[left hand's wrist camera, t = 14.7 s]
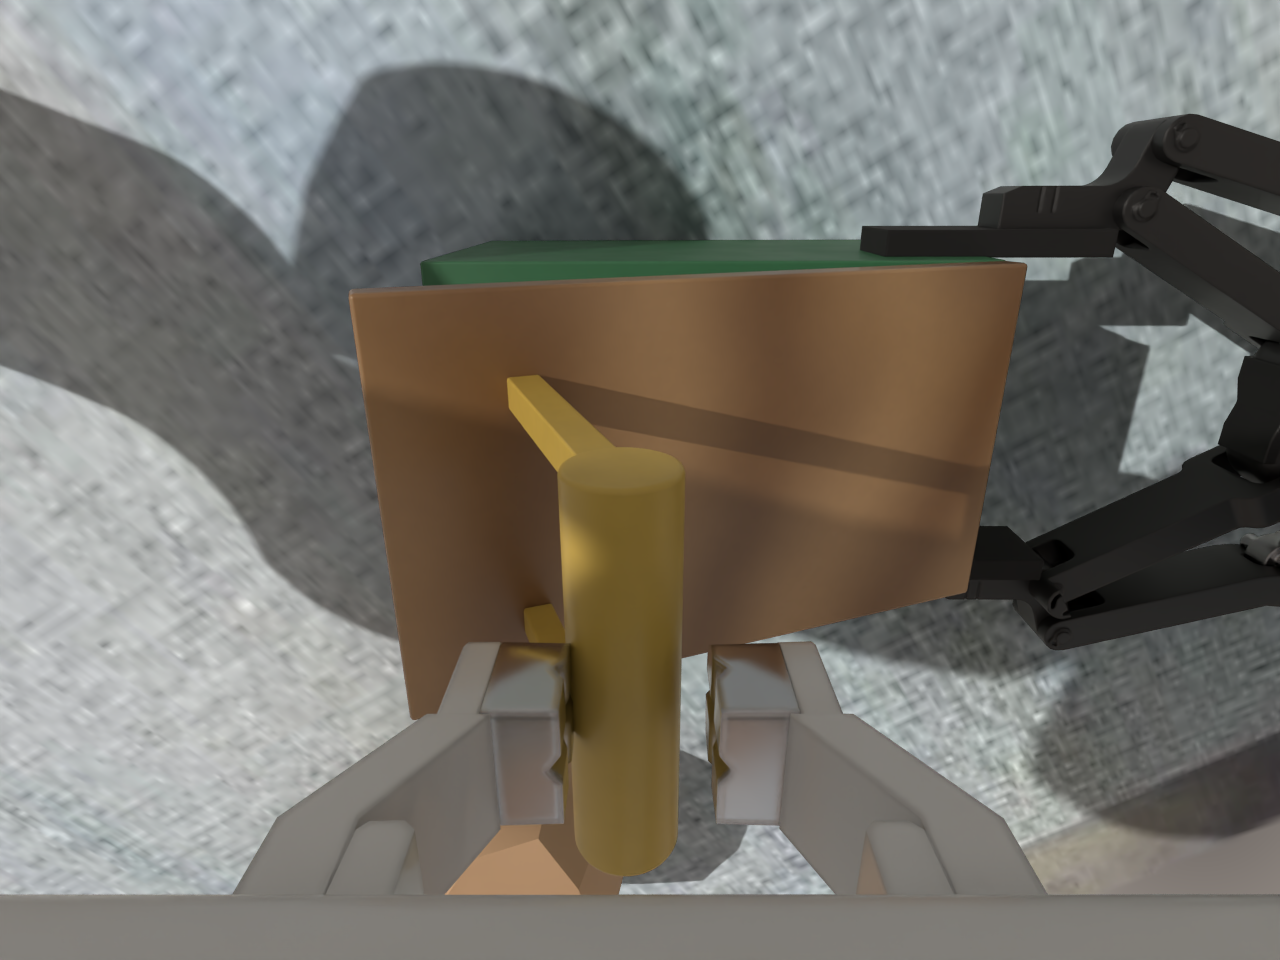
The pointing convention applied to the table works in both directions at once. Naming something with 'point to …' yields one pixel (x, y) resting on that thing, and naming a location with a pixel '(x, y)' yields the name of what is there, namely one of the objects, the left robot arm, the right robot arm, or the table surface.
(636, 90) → the table surface
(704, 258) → the chest
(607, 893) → the squash
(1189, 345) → the table surface
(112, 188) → the table surface
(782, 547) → the lid
